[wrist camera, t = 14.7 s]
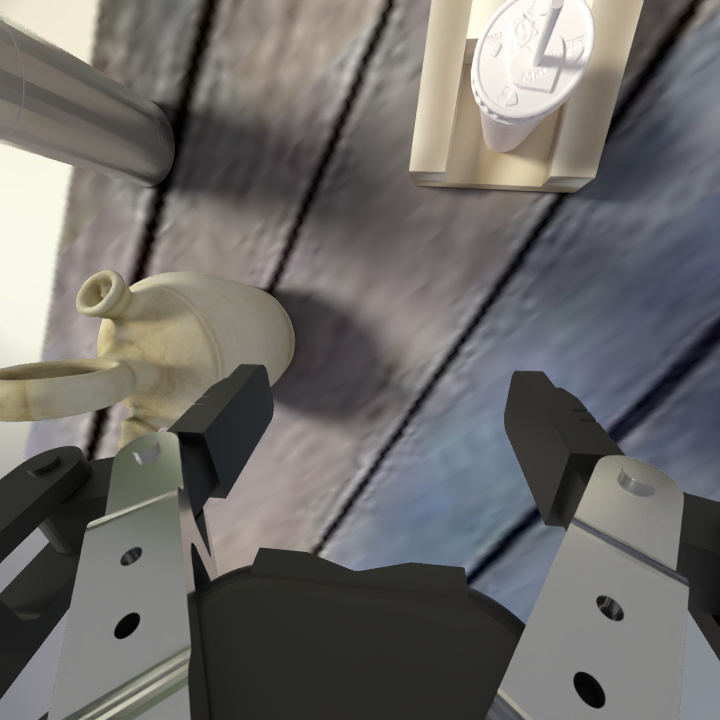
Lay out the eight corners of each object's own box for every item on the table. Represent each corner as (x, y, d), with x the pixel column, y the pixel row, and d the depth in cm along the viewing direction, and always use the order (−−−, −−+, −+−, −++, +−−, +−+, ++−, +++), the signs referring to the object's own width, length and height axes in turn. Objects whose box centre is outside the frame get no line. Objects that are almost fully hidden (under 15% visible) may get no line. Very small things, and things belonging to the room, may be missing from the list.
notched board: (415, 185, 32) (408, 170, 27) (440, 6, 28) (437, -43, 24) (574, 192, 28) (595, 177, 24) (627, -10, 24) (663, -70, 20)
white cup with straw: (486, 185, 29) (512, 107, 16) (453, 118, 28) (451, -20, 15) (562, 136, 26) (667, -3, 13) (527, 63, 26) (600, -157, 13)
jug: (209, 256, 40) (-140, 223, 16) (321, 297, 37) (93, 326, 14) (193, 367, 44) (-96, 464, 21) (291, 411, 42) (83, 577, 18)
